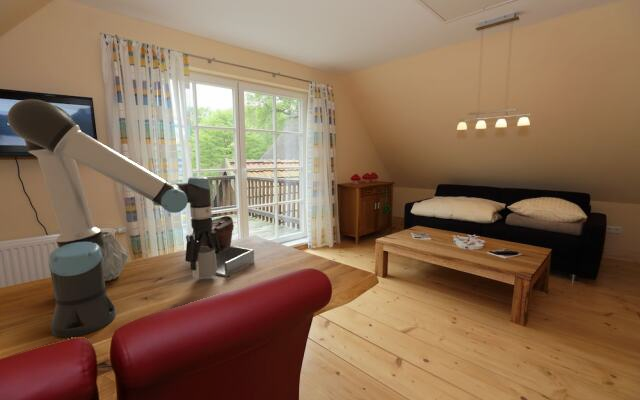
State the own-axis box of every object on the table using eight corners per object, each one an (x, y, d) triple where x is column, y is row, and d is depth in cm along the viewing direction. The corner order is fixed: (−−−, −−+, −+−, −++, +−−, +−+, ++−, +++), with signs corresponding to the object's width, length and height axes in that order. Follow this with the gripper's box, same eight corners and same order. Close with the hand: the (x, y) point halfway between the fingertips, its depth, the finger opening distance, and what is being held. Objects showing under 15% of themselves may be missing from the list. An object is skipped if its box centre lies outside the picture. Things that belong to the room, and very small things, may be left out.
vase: (89, 273, 125) (84, 230, 122) (134, 267, 131) (130, 226, 128) (74, 290, 110) (67, 241, 107) (125, 283, 116) (120, 237, 113)
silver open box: (227, 277, 122) (226, 263, 121) (204, 271, 127) (203, 258, 126) (254, 262, 138) (253, 249, 137) (232, 257, 143) (232, 245, 142)
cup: (189, 276, 116) (187, 251, 115) (203, 268, 124) (201, 245, 122) (207, 279, 114) (205, 254, 112) (220, 271, 122) (219, 247, 120)
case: (186, 259, 140) (184, 222, 137) (209, 246, 160) (207, 213, 157) (221, 262, 137) (220, 224, 134) (240, 248, 157) (239, 215, 154)
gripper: (186, 224, 104) (190, 285, 108) (228, 212, 123) (230, 265, 127) (170, 222, 107) (175, 281, 111) (214, 211, 126) (217, 262, 130)
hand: (205, 272), depth 119 cm, fingers closed on cup, 8 cm apart
